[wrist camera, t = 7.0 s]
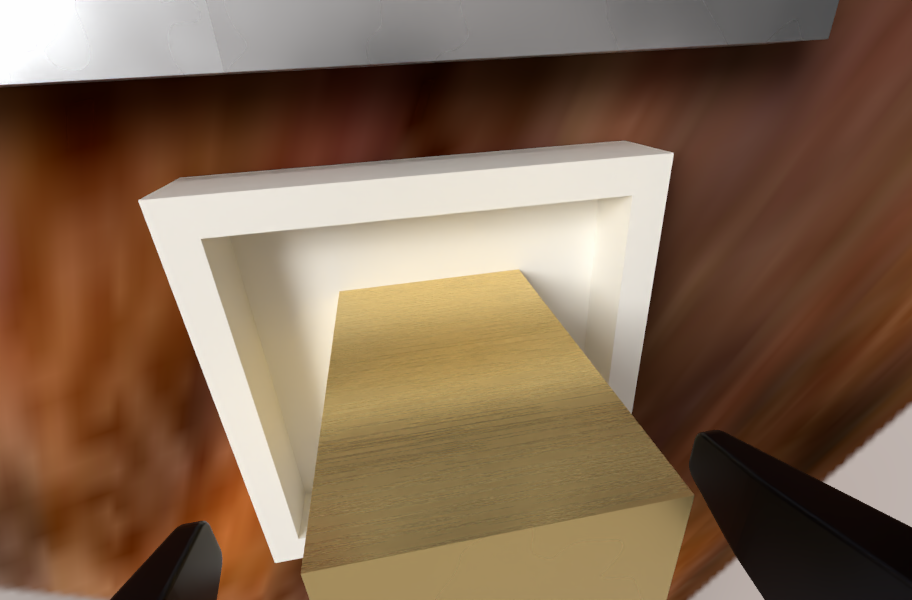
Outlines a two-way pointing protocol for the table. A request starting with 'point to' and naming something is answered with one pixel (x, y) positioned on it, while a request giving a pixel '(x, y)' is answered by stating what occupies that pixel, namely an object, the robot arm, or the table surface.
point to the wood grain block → (481, 457)
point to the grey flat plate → (365, 33)
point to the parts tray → (393, 275)
